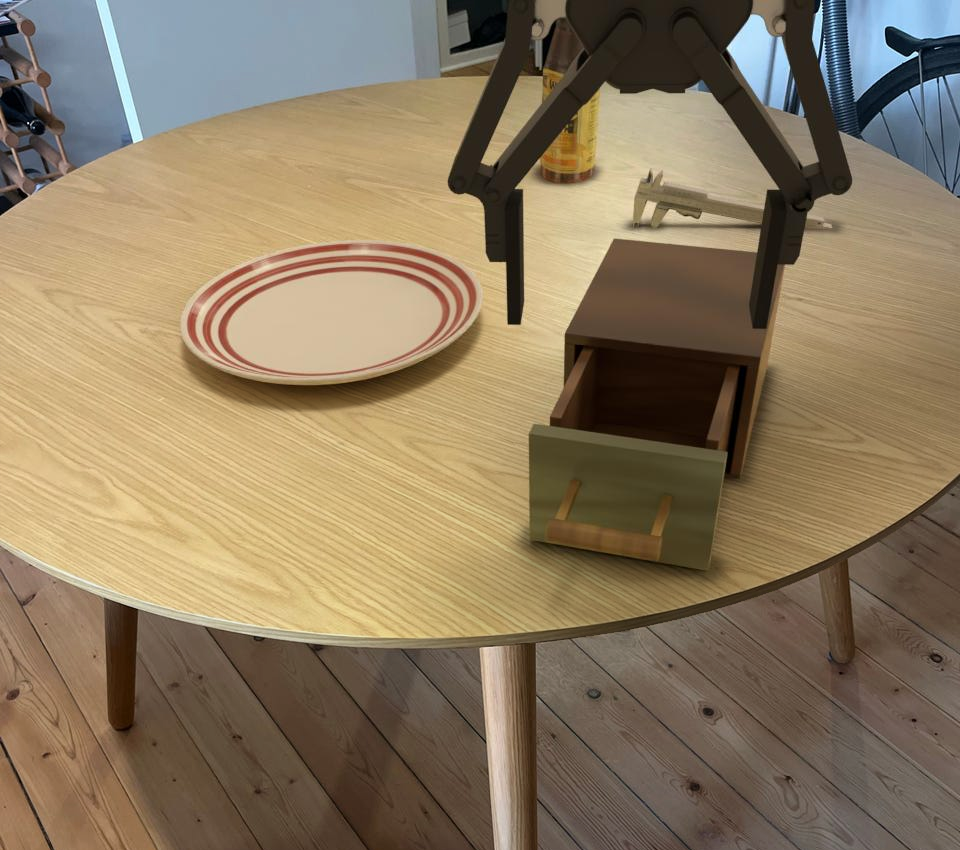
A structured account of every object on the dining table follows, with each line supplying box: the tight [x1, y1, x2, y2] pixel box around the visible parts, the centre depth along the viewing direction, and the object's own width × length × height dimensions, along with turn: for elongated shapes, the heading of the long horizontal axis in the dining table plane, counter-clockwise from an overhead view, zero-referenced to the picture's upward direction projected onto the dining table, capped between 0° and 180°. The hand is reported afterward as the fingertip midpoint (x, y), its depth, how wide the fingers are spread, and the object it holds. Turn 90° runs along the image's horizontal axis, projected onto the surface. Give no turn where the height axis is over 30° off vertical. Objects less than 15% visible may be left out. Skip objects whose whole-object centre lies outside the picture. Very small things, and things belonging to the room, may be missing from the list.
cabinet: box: [563, 237, 786, 479], centre depth 79 cm, size 16×14×11 cm
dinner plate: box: [179, 239, 484, 386], centre depth 93 cm, size 28×27×3 cm
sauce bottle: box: [539, 18, 601, 184], centre depth 110 cm, size 6×6×20 cm
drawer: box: [528, 345, 743, 572], centre depth 69 cm, size 20×12×9 cm, turn 162°
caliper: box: [632, 167, 833, 230], centre depth 104 cm, size 20×1×6 cm, turn 83°
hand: (635, 315), depth 58 cm, fingers open, 13 cm apart
